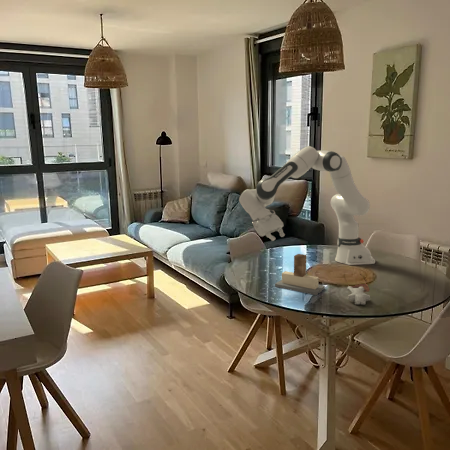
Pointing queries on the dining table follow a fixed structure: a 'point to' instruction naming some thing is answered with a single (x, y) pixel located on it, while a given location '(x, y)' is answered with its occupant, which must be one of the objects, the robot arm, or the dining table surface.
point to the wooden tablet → (365, 286)
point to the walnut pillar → (300, 265)
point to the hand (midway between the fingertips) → (278, 238)
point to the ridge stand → (300, 283)
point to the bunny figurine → (358, 295)
